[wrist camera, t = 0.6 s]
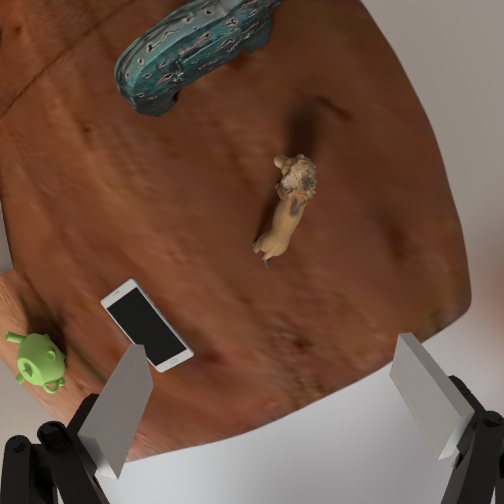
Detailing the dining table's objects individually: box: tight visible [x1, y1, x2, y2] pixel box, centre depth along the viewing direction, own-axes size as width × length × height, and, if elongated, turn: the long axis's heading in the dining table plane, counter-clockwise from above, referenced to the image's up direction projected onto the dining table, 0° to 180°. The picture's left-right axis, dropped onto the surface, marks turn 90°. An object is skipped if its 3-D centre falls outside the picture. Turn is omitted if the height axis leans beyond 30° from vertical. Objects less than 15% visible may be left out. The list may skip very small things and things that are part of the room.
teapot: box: [5, 331, 65, 393], centre depth 42 cm, size 11×12×8 cm
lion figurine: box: [253, 154, 317, 267], centre depth 36 cm, size 15×5×9 cm, turn 168°
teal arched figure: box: [114, 0, 283, 117], centre depth 26 cm, size 20×6×20 cm, turn 126°
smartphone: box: [101, 278, 194, 372], centre depth 45 cm, size 8×1×15 cm
